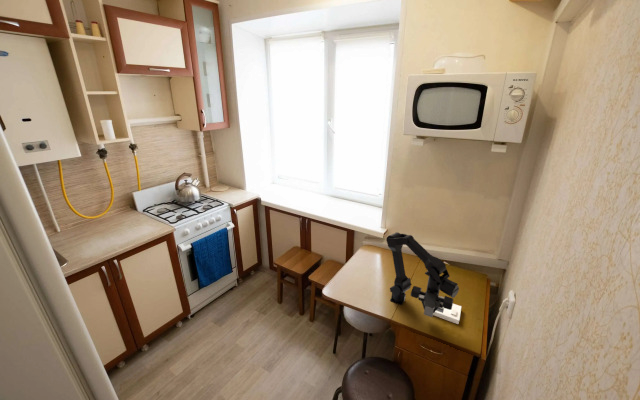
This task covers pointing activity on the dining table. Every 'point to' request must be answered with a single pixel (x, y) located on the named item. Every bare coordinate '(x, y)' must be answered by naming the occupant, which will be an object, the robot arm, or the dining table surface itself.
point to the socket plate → (449, 313)
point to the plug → (428, 311)
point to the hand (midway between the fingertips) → (429, 310)
